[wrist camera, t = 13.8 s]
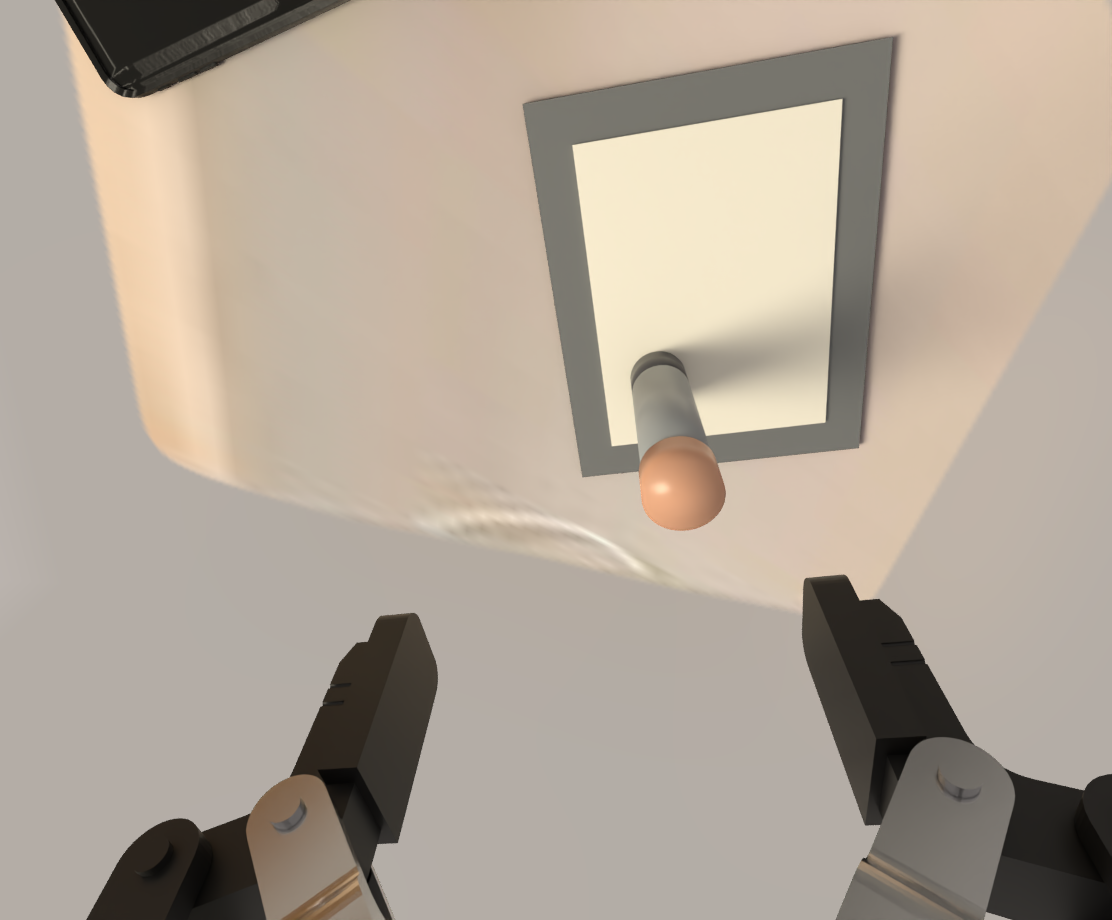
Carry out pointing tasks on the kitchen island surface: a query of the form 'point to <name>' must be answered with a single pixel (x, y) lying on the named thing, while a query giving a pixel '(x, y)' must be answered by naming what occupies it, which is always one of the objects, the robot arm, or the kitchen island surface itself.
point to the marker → (673, 447)
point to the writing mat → (718, 247)
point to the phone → (175, 35)
